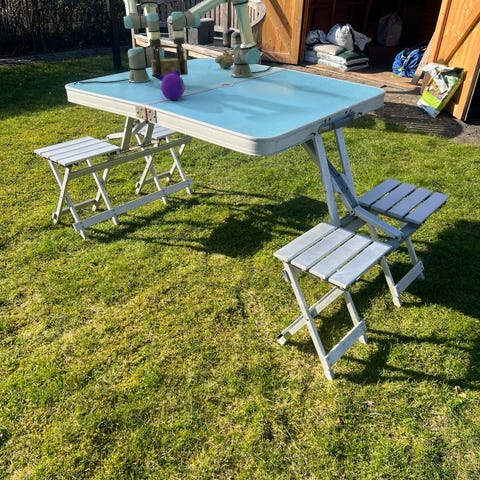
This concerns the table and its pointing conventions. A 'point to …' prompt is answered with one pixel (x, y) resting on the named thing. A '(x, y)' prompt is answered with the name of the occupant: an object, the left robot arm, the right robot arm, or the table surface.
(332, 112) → the table surface
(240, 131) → the table surface
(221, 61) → the teapot
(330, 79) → the table surface
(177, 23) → the right robot arm
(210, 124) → the table surface
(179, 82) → the toy
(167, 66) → the box
